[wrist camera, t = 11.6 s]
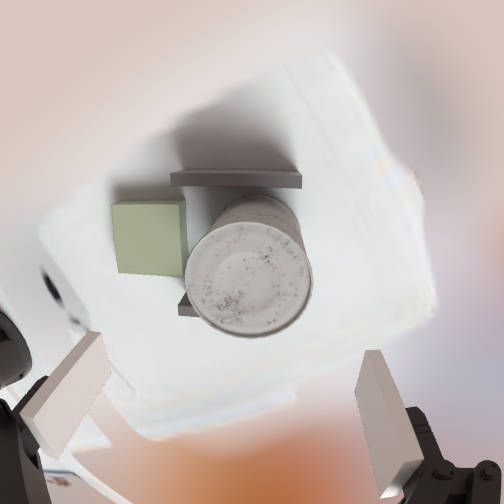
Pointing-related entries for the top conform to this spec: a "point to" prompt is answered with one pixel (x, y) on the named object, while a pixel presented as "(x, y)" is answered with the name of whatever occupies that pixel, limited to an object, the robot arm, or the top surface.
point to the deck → (150, 237)
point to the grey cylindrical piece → (250, 270)
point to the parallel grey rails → (231, 179)
